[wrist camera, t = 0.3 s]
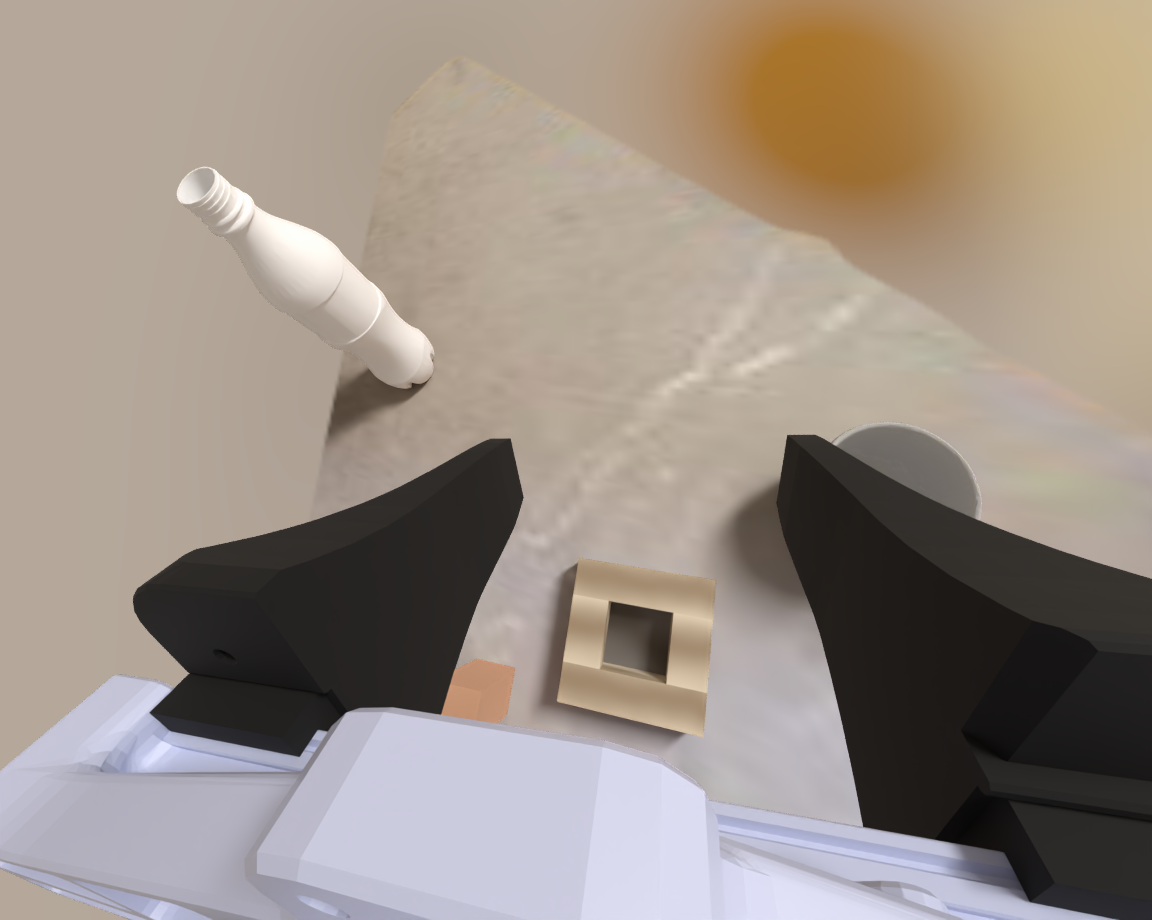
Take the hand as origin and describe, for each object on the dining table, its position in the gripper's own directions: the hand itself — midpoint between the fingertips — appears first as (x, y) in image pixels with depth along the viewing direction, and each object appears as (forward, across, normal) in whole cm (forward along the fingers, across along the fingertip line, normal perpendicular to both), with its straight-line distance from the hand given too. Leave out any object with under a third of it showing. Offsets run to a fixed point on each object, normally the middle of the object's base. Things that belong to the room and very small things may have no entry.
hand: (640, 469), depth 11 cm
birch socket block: (+15, +2, +28) cm, 31 cm away
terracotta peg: (+11, +16, +31) cm, 37 cm away
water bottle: (+34, +30, +7) cm, 46 cm away
